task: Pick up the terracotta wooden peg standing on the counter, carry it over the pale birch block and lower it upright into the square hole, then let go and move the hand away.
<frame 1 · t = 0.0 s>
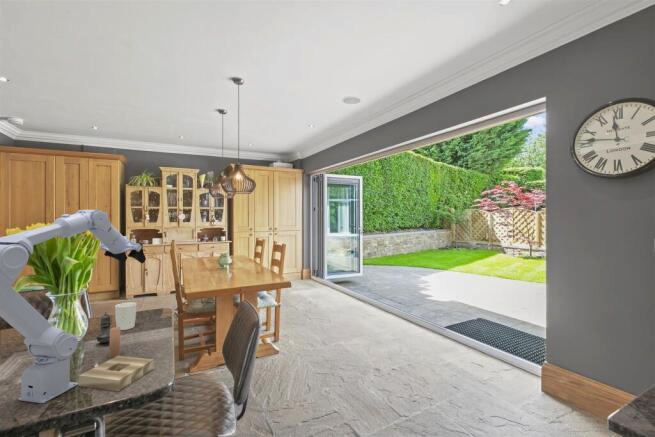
hand: (134, 260, 112), 32 cm above the kitchen island, tool tilted 50°, fingers open, 7 cm apart
white cup: (125, 328, 135), on the kitchen island
socket block: (118, 377, 93), on the kitchen island
peg: (114, 356, 107), on the kitchen island
chess piece: (105, 344, 117), on the kitchen island
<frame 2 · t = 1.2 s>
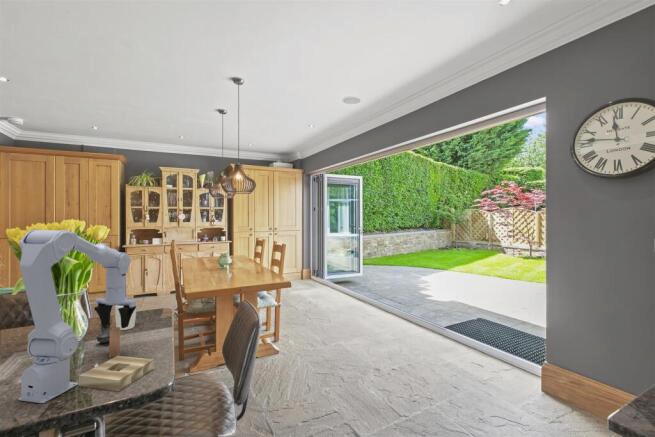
hand: (115, 326, 107), 10 cm above the kitchen island, tool pointing down, fingers open, 7 cm apart
nothing on the kitchen island moved.
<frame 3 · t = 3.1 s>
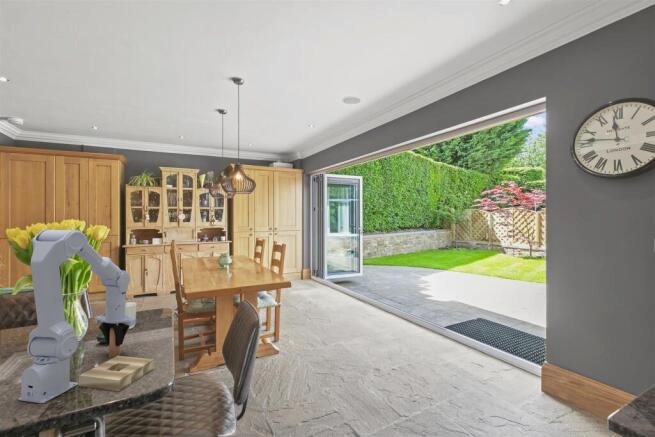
hand: (114, 344, 107), 4 cm above the kitchen island, tool pointing down, fingers closed on peg, 3 cm apart
peg: (114, 356, 107), on the kitchen island, touching gripper
everything else where it was.
when the fingers open (5 cm above the kitchen island, at t = 8.0 s): peg stays where it is, resting in socket block.
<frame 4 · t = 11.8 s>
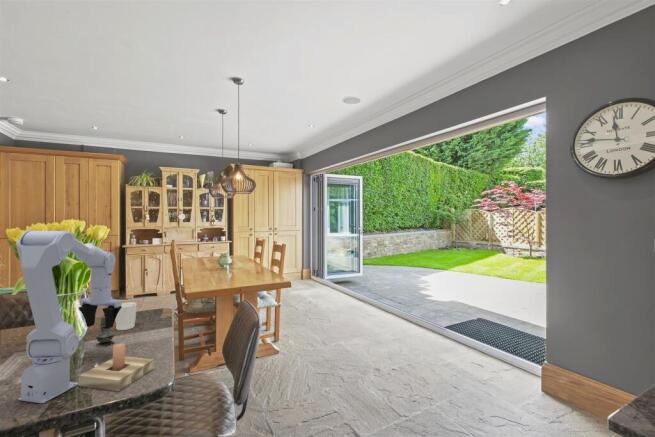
hand: (100, 326, 106), 10 cm above the kitchen island, tool pointing down, fingers open, 7 cm apart
peg: (118, 376, 93), resting in socket block
everything else where it was.
at the end: peg 0.1 cm off-centre on the socket block, point 0.0 cm above the socket block's base; peg tilted 1°; the gripper is holding nothing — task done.
